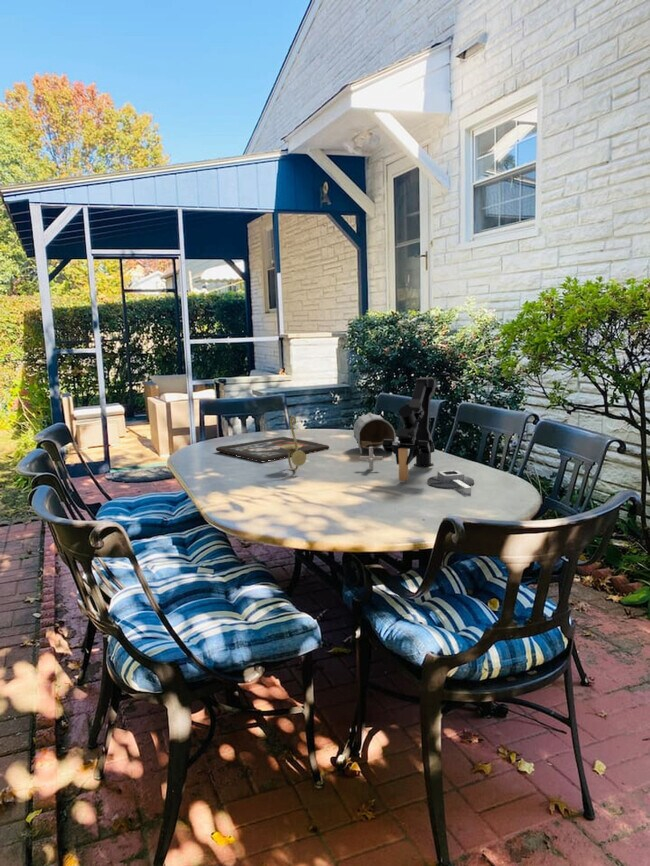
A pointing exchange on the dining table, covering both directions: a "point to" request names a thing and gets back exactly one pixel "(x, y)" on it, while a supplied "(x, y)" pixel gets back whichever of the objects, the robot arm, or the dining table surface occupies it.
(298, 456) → the wall sconce
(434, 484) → the rosette plate
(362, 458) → the pipe connector
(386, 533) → the dining table surface
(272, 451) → the religious icon
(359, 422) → the helmet
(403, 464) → the pin
